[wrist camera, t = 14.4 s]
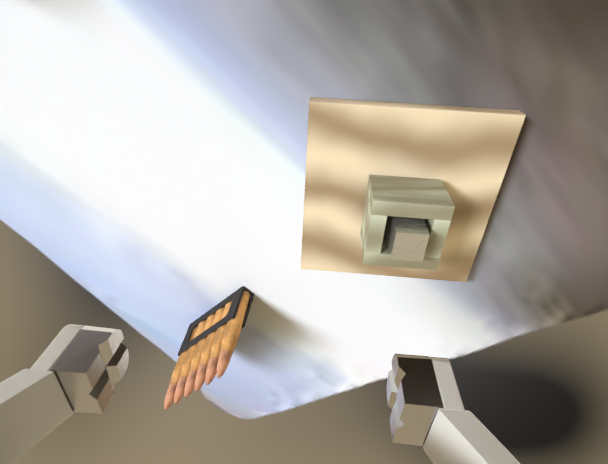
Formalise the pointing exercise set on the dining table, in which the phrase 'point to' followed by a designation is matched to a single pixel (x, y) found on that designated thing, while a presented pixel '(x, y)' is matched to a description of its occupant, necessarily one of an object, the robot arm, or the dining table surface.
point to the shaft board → (404, 163)
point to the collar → (404, 203)
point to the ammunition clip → (209, 345)
